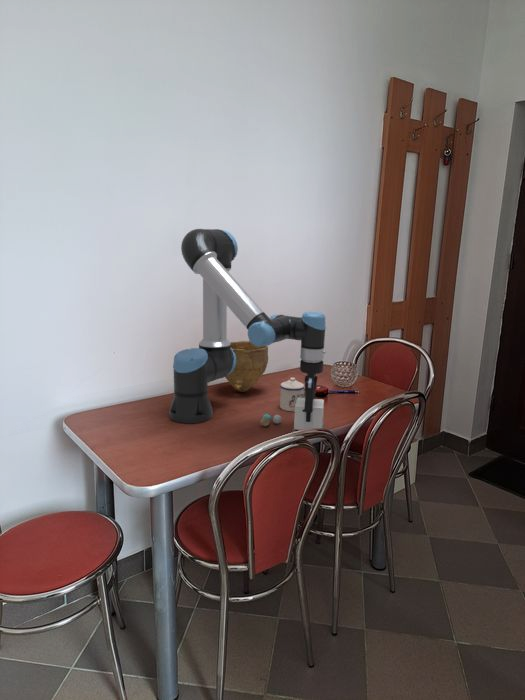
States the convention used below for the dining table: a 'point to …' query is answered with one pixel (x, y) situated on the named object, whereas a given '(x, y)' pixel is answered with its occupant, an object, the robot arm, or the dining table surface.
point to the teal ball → (267, 416)
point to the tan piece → (247, 364)
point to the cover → (317, 413)
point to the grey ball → (277, 419)
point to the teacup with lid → (291, 394)
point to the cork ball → (265, 422)
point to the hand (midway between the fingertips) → (308, 424)
